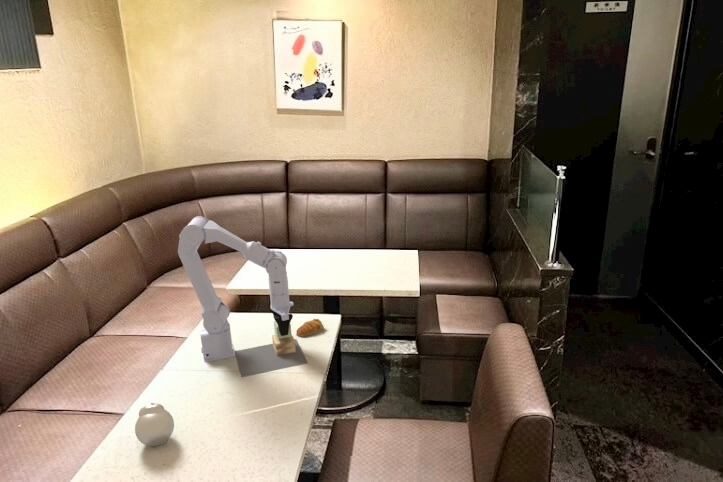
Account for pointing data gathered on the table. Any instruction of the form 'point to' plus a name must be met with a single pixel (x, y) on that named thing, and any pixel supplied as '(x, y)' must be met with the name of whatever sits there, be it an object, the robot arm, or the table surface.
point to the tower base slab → (284, 350)
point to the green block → (279, 331)
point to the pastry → (310, 328)
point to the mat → (267, 359)
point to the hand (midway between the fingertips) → (282, 331)
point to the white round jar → (154, 425)
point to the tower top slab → (283, 342)
